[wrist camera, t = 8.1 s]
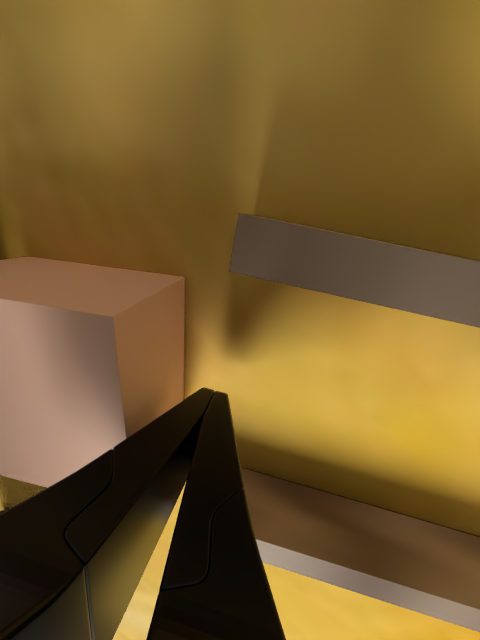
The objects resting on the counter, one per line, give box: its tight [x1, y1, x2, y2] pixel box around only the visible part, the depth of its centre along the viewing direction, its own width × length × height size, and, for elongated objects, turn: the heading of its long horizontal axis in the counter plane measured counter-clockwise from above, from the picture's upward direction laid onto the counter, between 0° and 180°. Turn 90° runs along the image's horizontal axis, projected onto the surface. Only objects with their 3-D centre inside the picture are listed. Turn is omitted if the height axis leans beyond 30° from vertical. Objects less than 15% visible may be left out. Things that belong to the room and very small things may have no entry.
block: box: [0, 256, 185, 488], centre depth 8 cm, size 6×6×4 cm
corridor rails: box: [229, 214, 480, 632], centre depth 8 cm, size 12×11×2 cm
